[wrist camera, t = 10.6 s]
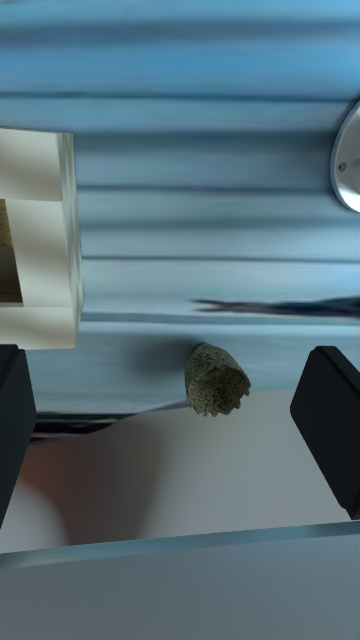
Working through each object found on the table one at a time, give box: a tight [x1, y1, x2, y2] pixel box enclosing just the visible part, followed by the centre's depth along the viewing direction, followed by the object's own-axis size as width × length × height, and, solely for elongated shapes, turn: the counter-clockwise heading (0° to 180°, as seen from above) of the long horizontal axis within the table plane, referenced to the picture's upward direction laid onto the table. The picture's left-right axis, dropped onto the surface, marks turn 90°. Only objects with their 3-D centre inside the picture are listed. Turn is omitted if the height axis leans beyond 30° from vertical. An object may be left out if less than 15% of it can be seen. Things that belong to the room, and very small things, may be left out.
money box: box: [0, 126, 84, 350], centre depth 27 cm, size 16×11×10 cm
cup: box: [185, 344, 251, 417], centre depth 40 cm, size 8×7×8 cm
